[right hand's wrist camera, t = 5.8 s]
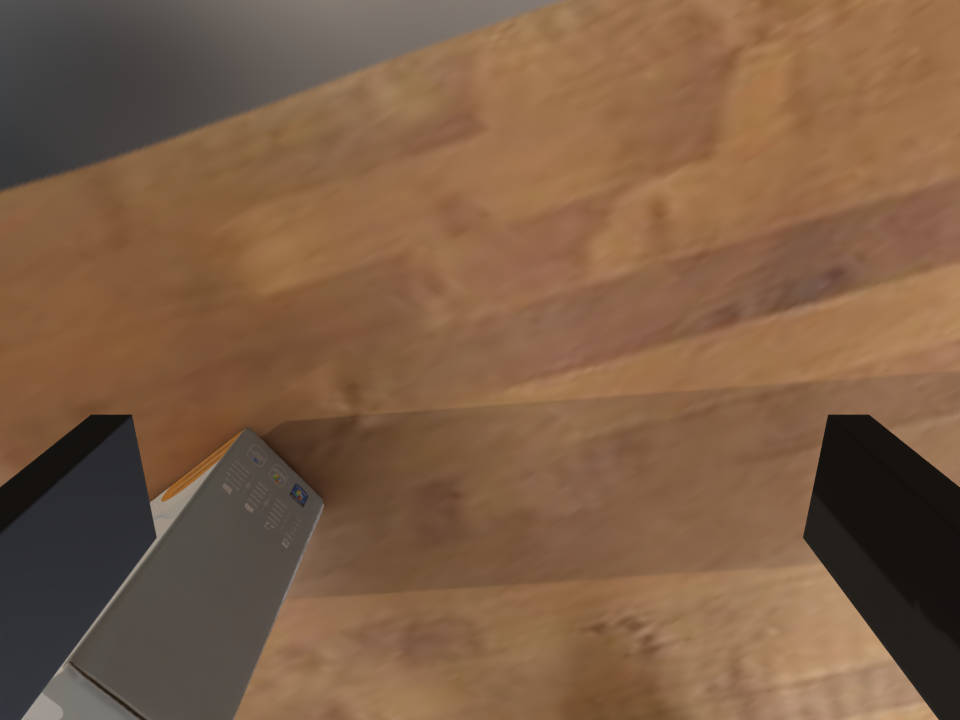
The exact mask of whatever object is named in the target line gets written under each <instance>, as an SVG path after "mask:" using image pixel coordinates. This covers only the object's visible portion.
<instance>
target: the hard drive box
mask: <svg viewBox="0 0 960 720" xmlns="http://www.w3.org/2000/svg"><path fill="white" fill-rule="evenodd" d="M150 506H151V511H152V516H153V521H154V526H155V531H156V536H157V538H156V539H155V541H154V542H153V544H152V545H151V546H150V548H149V549H148V550H147V552H146V553H145V554H144V556H143V557H142V558H141V560H140V561H139V562H138V564H137V565H136V566H135V568H134V569H133V570H132V572H131V573H130V574H129V576H128V577H127V578H126V580H125V581H124V582H123V584H122V585H121V586H120V588H119V589H118V590H117V592H116V593H115V595H114V596H113V597H112V599H111V600H110V601H109V603H108V604H107V605H106V607H105V608H104V609H103V611H102V612H101V613H100V615H99V616H98V617H97V619H96V620H95V621H94V623H93V624H92V625H91V627H90V628H89V629H88V631H87V632H86V633H85V635H84V636H83V637H82V639H81V640H80V641H79V643H78V644H77V646H76V647H75V648H74V650H73V651H72V652H71V654H70V655H69V656H68V658H67V659H66V660H65V662H64V663H63V664H62V666H61V667H60V668H59V670H58V671H57V672H56V674H55V675H54V676H53V678H52V679H51V680H50V682H49V683H48V684H47V686H46V687H45V688H44V690H43V691H42V693H41V694H40V695H39V697H38V698H37V699H36V701H35V702H34V703H33V705H32V706H31V707H30V709H29V710H28V711H27V713H26V714H25V715H24V717H23V718H22V719H21V720H234V717H235V715H236V713H237V710H238V708H239V705H240V703H241V701H242V698H243V696H244V694H245V691H246V689H247V686H248V684H249V682H250V679H251V677H252V675H253V672H254V670H255V667H256V665H257V663H258V660H259V658H260V656H261V653H262V651H263V649H264V646H265V644H266V642H267V639H268V637H269V635H270V632H271V630H272V628H273V625H274V623H275V621H276V618H277V616H278V614H279V611H280V609H281V607H282V604H283V602H284V600H285V597H286V595H287V593H288V590H289V588H290V586H291V583H292V581H293V579H294V576H295V574H296V572H297V569H298V567H299V565H300V562H301V560H302V557H303V555H304V553H305V550H306V548H307V546H308V543H309V541H310V539H311V536H312V534H313V532H314V529H315V527H316V525H317V522H318V520H319V518H320V515H321V513H322V510H323V508H324V504H323V499H322V498H321V497H320V496H319V495H318V494H317V493H316V492H315V491H314V490H313V489H312V488H311V487H310V486H309V485H308V484H307V483H306V482H305V481H304V480H303V479H302V478H301V477H300V476H298V475H297V474H296V473H295V472H294V471H293V470H292V469H291V468H290V467H289V466H288V465H287V464H286V463H285V462H284V461H283V460H282V459H281V458H280V457H279V456H278V455H277V454H276V453H275V452H274V451H273V450H272V449H271V448H270V447H269V446H268V445H267V444H266V443H265V442H264V441H263V440H262V439H261V438H260V437H259V436H258V435H257V434H256V433H255V432H253V431H252V430H251V429H250V428H246V429H244V430H243V431H241V432H240V433H239V434H237V435H236V436H235V437H233V438H232V439H231V440H229V441H228V442H227V443H226V444H224V445H223V446H222V447H221V448H219V449H218V450H217V451H215V452H214V453H213V454H211V455H210V456H209V457H208V458H206V459H205V460H204V461H202V462H201V463H200V464H199V465H197V466H196V467H195V468H194V469H192V470H191V471H190V472H188V473H187V474H186V475H185V476H183V477H182V478H181V479H179V480H178V481H177V482H176V483H174V484H173V485H172V486H171V487H169V488H168V489H167V490H165V491H164V492H163V493H161V494H160V495H159V496H158V497H156V498H155V499H154V500H153V501H151V502H150Z"/></svg>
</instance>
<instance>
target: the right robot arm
mask: <svg viewBox="0 0 960 720" xmlns="http://www.w3.org/2000/svg"><path fill="white" fill-rule="evenodd" d="M156 538H157V536H156V531H155V526H154V521H153V516H152V511H151V506H150V501H149V497H148V492H147V487H146V482H145V477H144V472H143V467H142V462H141V457H140V453H139V448H138V443H137V438H136V433H135V428H134V423H133V418H132V415H90V416H89V417H88V418H86V419H85V420H84V421H83V422H81V423H80V424H79V425H78V426H76V427H75V428H74V429H73V430H71V431H70V432H69V433H68V434H66V435H65V436H64V437H63V438H61V439H60V440H59V441H58V442H56V443H55V444H54V445H53V446H51V447H50V448H49V449H48V450H46V451H45V452H44V453H43V454H41V455H40V456H39V457H38V458H36V459H35V460H34V461H33V462H31V463H30V464H29V465H28V466H26V467H25V468H24V469H23V470H21V471H20V472H19V473H18V474H16V475H15V476H14V477H13V478H11V479H10V480H9V481H8V482H6V483H5V484H4V485H3V486H1V487H0V720H21V719H22V718H23V717H24V715H25V714H26V713H27V711H28V710H29V709H30V707H31V706H32V705H33V703H34V702H35V701H36V699H37V698H38V697H39V695H40V694H41V693H42V691H43V690H44V688H45V687H46V686H47V684H48V683H49V682H50V680H51V679H52V678H53V676H54V675H55V674H56V672H57V671H58V670H59V668H60V667H61V666H62V664H63V663H64V662H65V660H66V659H67V658H68V656H69V655H70V654H71V652H72V651H73V650H74V648H75V647H76V646H77V644H78V643H79V641H80V640H81V639H82V637H83V636H84V635H85V633H86V632H87V631H88V629H89V628H90V627H91V625H92V624H93V623H94V621H95V620H96V619H97V617H98V616H99V615H100V613H101V612H102V611H103V609H104V608H105V607H106V605H107V604H108V603H109V601H110V600H111V599H112V597H113V596H114V595H115V593H116V592H117V590H118V589H119V588H120V586H121V585H122V584H123V582H124V581H125V580H126V578H127V577H128V576H129V574H130V573H131V572H132V570H133V569H134V568H135V566H136V565H137V564H138V562H139V561H140V560H141V558H142V557H143V556H144V554H145V553H146V552H147V550H148V549H149V548H150V546H151V545H152V544H153V542H154V541H155V539H156ZM803 538H804V539H805V541H806V542H807V544H808V545H809V546H810V548H811V549H812V550H813V552H814V553H815V554H816V556H817V557H818V558H819V560H820V561H821V562H822V564H823V565H824V566H825V568H826V569H827V570H828V572H829V573H830V574H831V576H832V577H833V578H834V580H835V581H836V582H837V584H838V585H839V586H840V588H841V589H842V590H843V592H844V593H845V595H846V596H847V597H848V599H849V600H850V601H851V603H852V604H853V605H854V607H855V608H856V609H857V611H858V612H859V613H860V615H861V616H862V617H863V619H864V620H865V621H866V623H867V624H868V625H869V627H870V628H871V629H872V631H873V632H874V633H875V635H876V636H877V637H878V639H879V640H880V642H881V643H882V644H883V646H884V647H885V648H886V650H887V651H888V652H889V654H890V655H891V656H892V658H893V659H894V660H895V662H896V663H897V664H898V666H899V667H900V668H901V670H902V671H903V672H904V674H905V675H906V676H907V678H908V679H909V680H910V682H911V683H912V684H913V686H914V687H915V688H916V690H917V691H918V693H919V694H920V695H921V697H922V698H923V699H924V701H925V702H926V703H927V705H928V706H929V707H930V709H931V710H932V711H933V713H934V714H935V715H936V717H937V718H938V719H939V720H960V487H959V486H957V485H956V484H955V483H954V482H952V481H951V480H950V479H949V478H947V477H946V476H945V475H944V474H942V473H941V472H940V471H939V470H937V469H936V468H935V467H934V466H932V465H931V464H930V463H929V462H927V461H926V460H925V459H924V458H922V457H921V456H920V455H919V454H917V453H916V452H915V451H914V450H912V449H911V448H910V447H909V446H907V445H906V444H905V443H904V442H902V441H901V440H900V439H899V438H897V437H896V436H895V435H894V434H892V433H891V432H890V431H889V430H887V429H886V428H885V427H884V426H882V425H881V424H880V423H879V422H877V421H876V420H875V419H874V418H872V417H871V416H870V415H828V418H827V423H826V428H825V433H824V438H823V443H822V448H821V453H820V457H819V462H818V467H817V472H816V477H815V482H814V487H813V492H812V497H811V501H810V506H809V511H808V516H807V521H806V526H805V531H804V536H803Z"/></svg>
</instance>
